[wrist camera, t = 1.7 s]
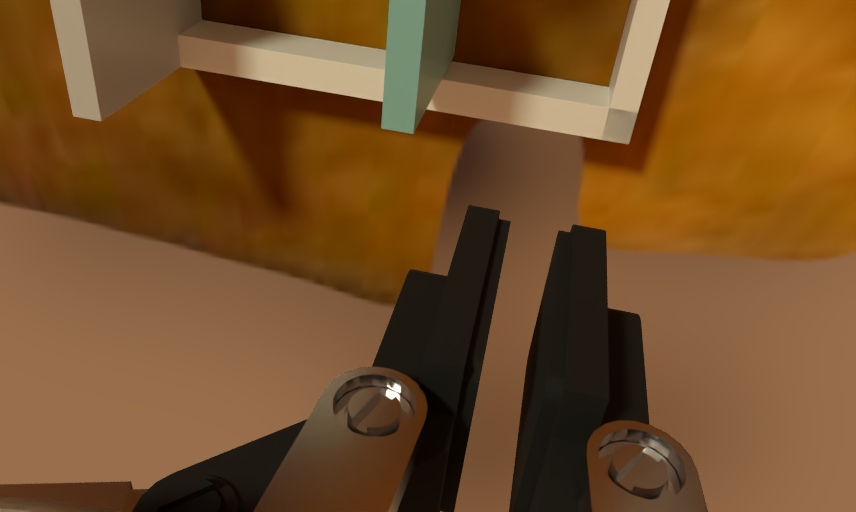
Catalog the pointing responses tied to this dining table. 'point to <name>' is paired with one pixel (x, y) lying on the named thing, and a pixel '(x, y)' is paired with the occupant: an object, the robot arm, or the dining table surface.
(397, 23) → the plate
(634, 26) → the white angular frame
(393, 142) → the dining table surface
